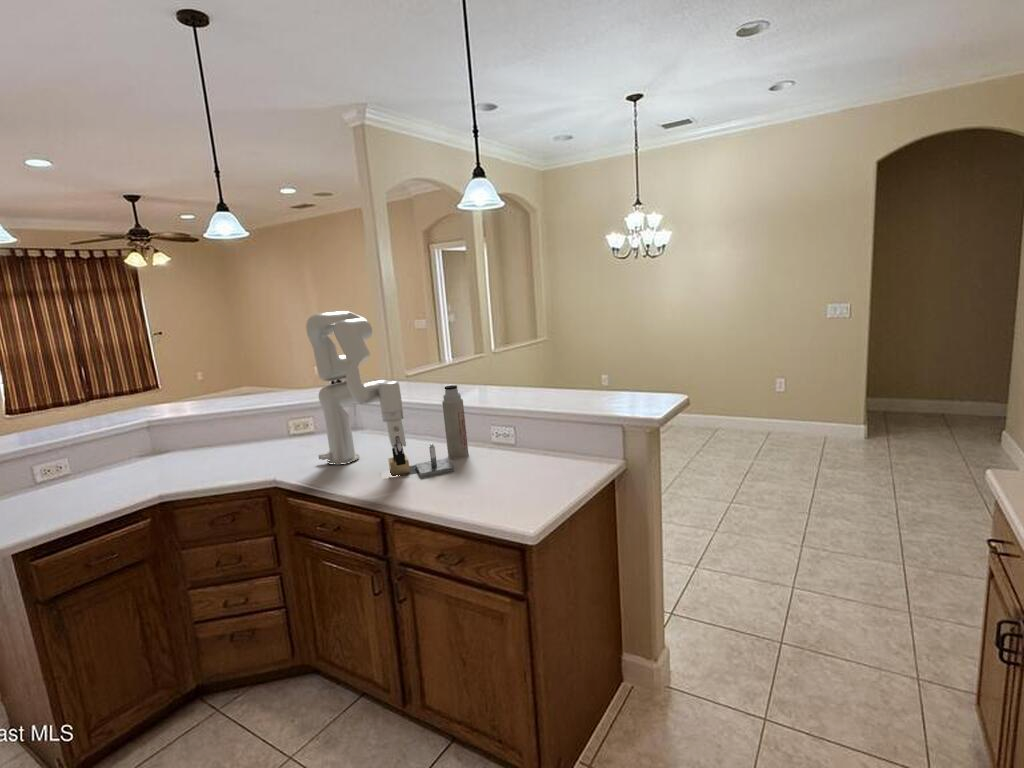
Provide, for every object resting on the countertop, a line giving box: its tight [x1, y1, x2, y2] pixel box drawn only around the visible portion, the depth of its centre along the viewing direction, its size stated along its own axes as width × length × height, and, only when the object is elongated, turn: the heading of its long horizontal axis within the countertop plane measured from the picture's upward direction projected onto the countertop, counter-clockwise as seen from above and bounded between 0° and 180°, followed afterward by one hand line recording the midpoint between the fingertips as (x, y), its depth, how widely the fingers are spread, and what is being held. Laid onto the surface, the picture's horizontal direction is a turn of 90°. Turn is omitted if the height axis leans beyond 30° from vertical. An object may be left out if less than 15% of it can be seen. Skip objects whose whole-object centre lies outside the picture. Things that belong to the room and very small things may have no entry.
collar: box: [387, 454, 410, 476], centre depth 194 cm, size 6×6×5 cm
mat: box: [398, 464, 419, 478], centre depth 194 cm, size 14×10×1 cm
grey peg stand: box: [414, 443, 455, 479], centre depth 193 cm, size 12×12×10 cm
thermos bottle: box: [441, 384, 469, 459], centre depth 207 cm, size 8×8×28 cm
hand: (399, 461), depth 193 cm, fingers open, 9 cm apart
